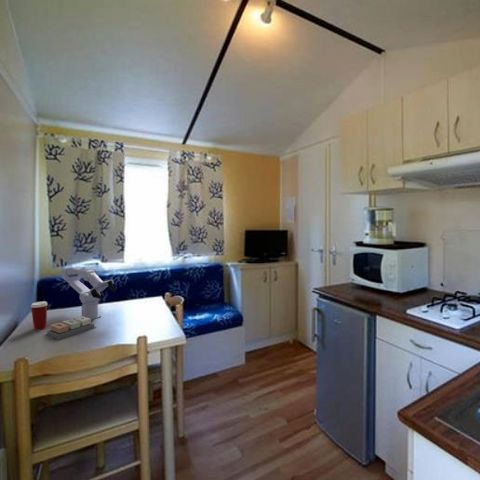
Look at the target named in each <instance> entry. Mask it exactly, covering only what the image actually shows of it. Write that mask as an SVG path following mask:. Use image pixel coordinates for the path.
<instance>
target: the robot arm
mask: <svg viewBox="0 0 480 480" xmlns="http://www.w3.org/2000/svg"><path fill="white" fill-rule="evenodd" d="M60 272H61V273H60V274H61V279H63V280H64V281H66V282H67V283H68V284H69V285H70V287H71V288H72V289H73V290H75V291H76V292H77V293H78V294H79V300H80V302H81V303H82V305H81V306H80V307H81V308H80V309H81V316H83V317H86V318H90V319H91V321H92V320H95V319H97V318H98V319H99V318H101V317H102V316H101V315H99V309H98V308H99V305H98V303H99V301H103V297H102V296H101V293H100V292H103V291H104V290H105V289H106V288H108V289H109V290H111V291H112V292H113V294H115V293H116V289H115V287H114V283H115V281H114V280H113V279H112V278H111V279H108V280H105V281H103V280H102V279H101V278H100V276H99V275H98V272H97V270H96V269H94V268H93V269H89V268H86V267H81V268H80V267H79V266H74V267H66V268H62V269H61V271H60ZM81 279H83V280H84V281H86V282H89V284H90V286H92V288H91V289H90V288H89V287H87V286H86V285H85V284H84V283H82V282H81V281H80V280H81Z"/></svg>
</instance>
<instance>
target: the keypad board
mask: <svg viewBox="0 0 480 480" xmlns="http://www.w3.org/2000/svg"><path fill="white" fill-rule="evenodd" d="M96 328H97V326H95V323H93V322H91V324H88V325H84V326H82V325H80V327H78V328H75V329H69V328H68V329H69V330H68V331H65V332H62V333H57V332H55V331H52V330H50V329H47V330H46V333H45V334H44V335H45V336H48V337H49V338H52V339H54V340H56V341H60V340H63V339H66V338H69V337H72V336H75V335H78V334H81V333H84V332H87V331H90V330H94V329H96Z"/></svg>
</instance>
